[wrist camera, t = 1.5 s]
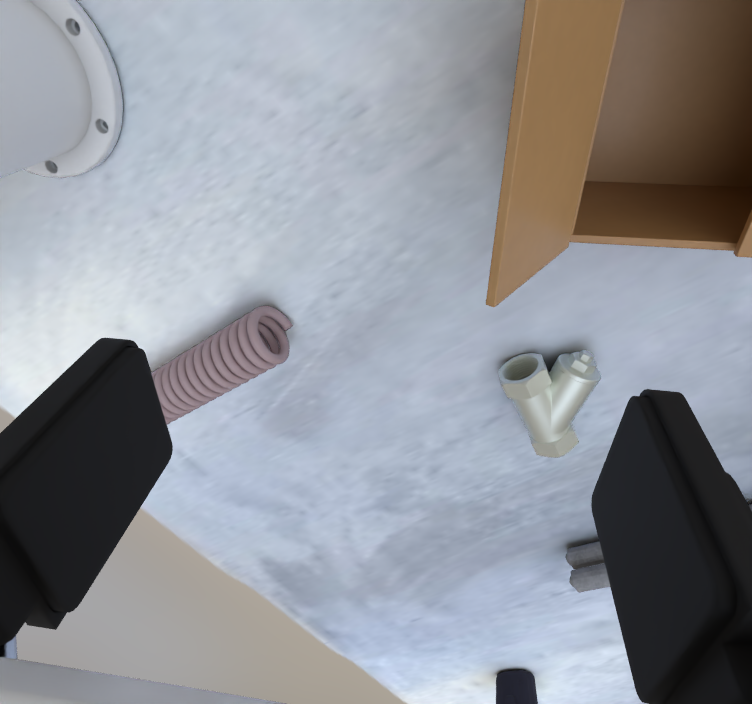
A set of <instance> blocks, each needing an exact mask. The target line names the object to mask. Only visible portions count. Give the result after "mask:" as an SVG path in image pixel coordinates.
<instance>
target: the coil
mask: <svg viewBox="0 0 752 704" xmlns="http://www.w3.org/2000/svg"><path fill="white" fill-rule="evenodd" d="M275 320H276V321H277V322H278V323H279V324H280V325H281V326H282V328H283V329H284V331H286V330H288V329H289V328H291V327H292V326H293V325H292V324H291V322H290V321H289V320H288V318H287V317H286V316H285V315H284V314H283V313H281V312H280V311H279V310H277V309H275V308H273V307H269V306H260V307H257V308H255V309H254V310H253V311H252V312H250V313H247V314H246V315H244V316H243V317H242V318H240V319H237V320H236V321H235V322H234V323H232V324H229V325H228V326H226V327H225V328H224V329H222V330H220V331H218V332H217V333H216V334H214V335H211V336H210V337H209V338H208V339H206V340H203V341H202V342H201V343H200V344H197V345H195V346H194V347H192V348H191V349H189V350H187V351H186V352H184V353H183V354H181V355H179V356H178V357H176V358H175V359H173V360H171V361H170V362H168V363H167V364H165V365H163V366H162V367H161V368H158V369H156V370H155V371H154V372H152V373H151V374H152V378H153V381H154V384H155V388H156V391H157V394H158V398H159V401H160V404H161V408H162V411H163V414H164V418H165V421H166V425H167V424H169V423H171V422H172V421H175V420H177V419H178V418H180V417H182V416H184V415H185V414H187V413H190V412H191V411H193V410H194V409H197V408H199V407H200V406H202V405H205V404H206V403H208V402H209V401H212V400H214V399H216V398H217V397H219V396H222V395H223V394H224V393H226V392H229V391H231V390H232V389H233V388H236V387H238V386H240V385H241V384H243V383H246V382H248V381H249V380H250V379H252V378H255V377H257V376H258V375H259V374H262V373H264V372H266V371H267V370H268V369H272V368H274V367H275V366H276V365H277V364H281V363H283V362H285V360H286V359H287V358H288V356H289V342H288V339H287V336H286V334H285V332H284V331H283V329H282V328H281V326H280V325H279V324H278V323H277V322H276V321H275ZM268 327H269V328H270V329H271V330H272V331H271V330H270V329H269V328H268ZM259 332H260V333H261V334H262V335H263V336H262V335H261V334H260V333H259ZM272 332H273V333H274V334H273V333H272ZM274 335H275V336H276V337H275V336H274ZM264 338H265V339H266V340H265V339H264ZM276 338H277V339H276ZM277 340H278V342H277ZM266 341H267V342H266ZM267 343H268V344H267ZM278 343H279V344H278ZM268 345H269V346H268ZM279 347H280V348H279ZM269 348H270V349H269Z"/></svg>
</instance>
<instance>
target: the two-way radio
mask: <svg viewBox="0 0 752 704" xmlns="http://www.w3.org/2000/svg"><path fill="white" fill-rule="evenodd" d="M496 704H538V702H537V694H536V686H535V679H534V676H533V675H532V674H531V673H530V672H526V671H525V670H523V671H522V670H516V671H507V672H502V673H499V674H498V675H497V678H496Z"/></svg>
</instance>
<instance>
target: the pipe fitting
mask: <svg viewBox="0 0 752 704" xmlns="http://www.w3.org/2000/svg"><path fill="white" fill-rule="evenodd" d="M593 358H594V355H593V354H592V353H591V352H589V351H587V350H582V351H581V352H573V353H572V354H568V353H565V354H561V355H560V356H559V357H558V359H557V360H556V362H555V364H554V365H553V367H552V369H551V370H550V372H548V369H547V366H546V364H545V362H544V360H543V358H542V355H541V354H534V353H528V354H521V355H518V356H515V357H513V358H512V359H510V360H509V361H507V362H506V363H505V364H504V365H503V366H502V367H501V368H500V369H499V370H498V371H499V378H500V382H501V385H502V387H503V389H504V391H505V393H506V395H507V397H508V398H511V400H512V402H513V404H514V405H515V407H516V409H517V411H518V413H519V415H520V417H521V419H522V421H523V423H524V425H525V427H526V429H527V431H528V433H529V437H530V440H531V444H532V446H533V448H534V450H535V452H536V454H537V455H540V456H544V457H561V456H563V455H565V454H567V453H568V452H569V451H571V450H572V449H573V448H574V447H575V446H576V445H577V444H578V442H579V441H578V438H577V435H576V432H575V429H574V427H573V424H572V421H573V419H574V418H575V416H576V415H577V413H578V412H579V410H580V409H581V407H582V406H583V404H584V403H585V401H586V400H587V398H588V397H589V395H590V394H591V392H592V391H593V389H594V388H595V386H596V385H597V383H598V382H599V380H600V379H601V374H600V372H599V370H598V369H597V368H596V367H597V365H596V362H595V361H594V359H593Z"/></svg>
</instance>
